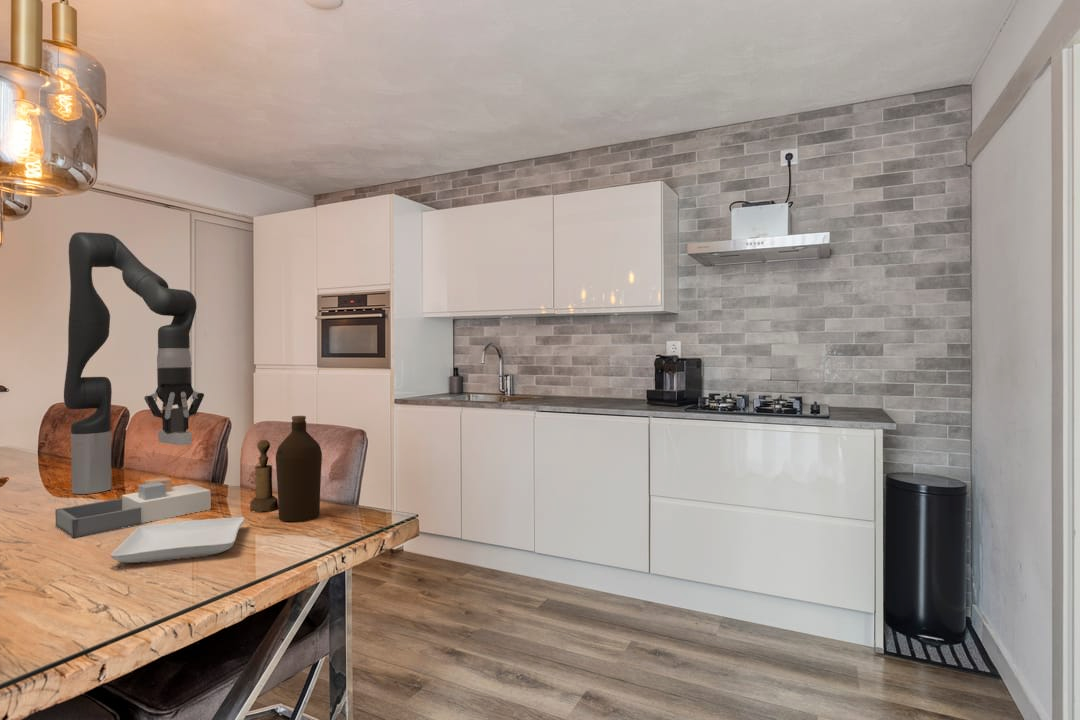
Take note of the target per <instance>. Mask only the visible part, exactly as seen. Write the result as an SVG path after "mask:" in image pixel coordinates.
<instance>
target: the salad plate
mask: <svg viewBox="0 0 1080 720" xmlns="http://www.w3.org/2000/svg"><path fill="white" fill-rule="evenodd" d="M245 519H246V518H245V517H244V516H237V517H223V518H221V517H220V518H209V519H208V518H207V519H204V518H203V519H193V520H186V521H183V520H182V521H175V522H166V523H158V524H157V523H156V524H148V525H147V524H145V525H139V526H138V527H137V528H136V529H135V530H133V532H132V533H131V534H129V536H128V537H127V538H125V540H124V541H123V542H122V543H121V544H119V546H117V547H116V549H114V550H113V551H112V552H111V554H110V557H111V558H112V559H113V560H115V561H117V562H121V563H127V564H128V563H131V564H132V563H135V564H141V563H140V562H148V563H153V562H152V561H158V562H162V561H161V560H168V561H172V560H171V559H177V560H180V559H179V558H186V559H190V558H189V557H195V558H199V557H198V556H203V557H208V556H207V555H210V556H215V555H217V554H220V553H222V552H225V551H227V550H229V549H231V548H232V547H233V546H234V544H235V542H236V540H237V537H238V536H237V535H238V532H239V530H240V529H241V526H242V525H243V524H244V521H245ZM214 554H215V555H214Z"/></svg>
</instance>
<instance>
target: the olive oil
mask: <svg viewBox="0 0 1080 720" xmlns="http://www.w3.org/2000/svg"><path fill="white" fill-rule="evenodd" d="M291 420H292V421H291V431H290V433H289V435H287V437H285V439H283V441H281V443H279V446H278V447H277V450H276V453H275V467H276V469H275V471H276V486H277V488H276V489H277V499H278V508H277V510H278V520H279V521H281V520H283V521H282V522H284V521H301V522H306V521H305V520H307V521H310V520H309V519H312V520H314V519H313V518H315V519H316V517H317V518H318V517H319V516H320V515H321V514H320V513H321V508H320V507H321V484H322V483H321V481H322V465H323V464H322V463H323V453H322V452H323V451H322V448H321V446H320V444H319V442H318V441H317V440H316V439H315V438H314V437H312V436H311V435H310V433H308V432H307V421H306V420H307V416H306V415H294V416H292V417H291Z"/></svg>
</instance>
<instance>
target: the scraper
mask: <svg viewBox="0 0 1080 720" xmlns="http://www.w3.org/2000/svg"><path fill="white" fill-rule="evenodd" d="M170 423H171V434H166V433H165V432H164V431H163V429H162V430H158V443H163V444H170V445H175V446H181V447H182V446H189V445H192V444H193V441H192V438H193V437H192V436H193V435H192V432H190V431H186V432H183V431H184V418H183V409H182V408H178V407H172V410H171V414H170Z"/></svg>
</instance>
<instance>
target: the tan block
mask: <svg viewBox="0 0 1080 720" xmlns="http://www.w3.org/2000/svg"><path fill="white" fill-rule="evenodd" d="M156 482H160V483H163V484H165V485H166V492H170V491H171V487H172V479H170V478H168V477H166V476H165V477H158V478H150V479H145V480H144V484H149V483H156Z"/></svg>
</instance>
